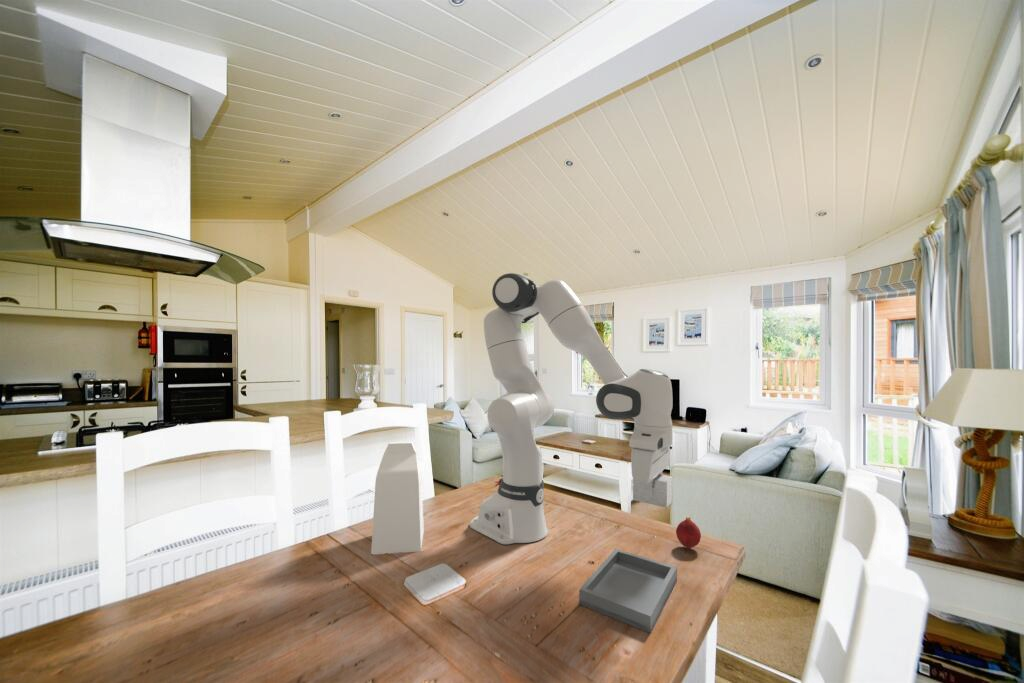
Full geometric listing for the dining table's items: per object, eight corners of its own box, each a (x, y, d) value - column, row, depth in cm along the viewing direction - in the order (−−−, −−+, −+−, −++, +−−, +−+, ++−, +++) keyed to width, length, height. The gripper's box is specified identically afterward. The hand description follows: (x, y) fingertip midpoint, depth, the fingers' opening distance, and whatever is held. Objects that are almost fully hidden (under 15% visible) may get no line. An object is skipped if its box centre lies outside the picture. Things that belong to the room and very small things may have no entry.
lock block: (632, 499, 98) (633, 475, 98) (639, 494, 102) (639, 470, 102) (666, 507, 94) (666, 482, 94) (671, 501, 98) (672, 476, 98)
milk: (371, 554, 98) (372, 448, 99) (379, 533, 110) (380, 438, 110) (420, 551, 100) (421, 447, 101) (423, 530, 112) (424, 437, 112)
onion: (703, 555, 99) (703, 522, 99) (678, 552, 100) (678, 520, 100) (697, 544, 105) (697, 513, 105) (674, 542, 106) (674, 511, 106)
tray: (579, 604, 79) (579, 589, 80) (615, 561, 96) (615, 548, 96) (650, 633, 71) (650, 616, 72) (676, 580, 88) (676, 567, 88)
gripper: (652, 427, 109) (651, 478, 108) (626, 441, 92) (625, 501, 92) (676, 430, 105) (675, 483, 105) (654, 445, 88) (653, 508, 88)
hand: (652, 491), depth 98 cm, fingers closed on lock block, 5 cm apart
